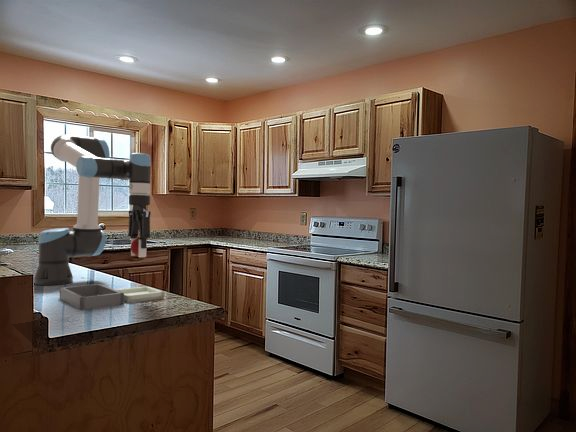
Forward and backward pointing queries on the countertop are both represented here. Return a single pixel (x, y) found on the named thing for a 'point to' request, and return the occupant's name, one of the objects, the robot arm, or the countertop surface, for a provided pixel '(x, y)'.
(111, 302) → the bin
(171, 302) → the countertop surface
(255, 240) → the countertop surface
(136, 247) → the onion
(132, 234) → the robot arm
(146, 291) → the tray
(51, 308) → the countertop surface
